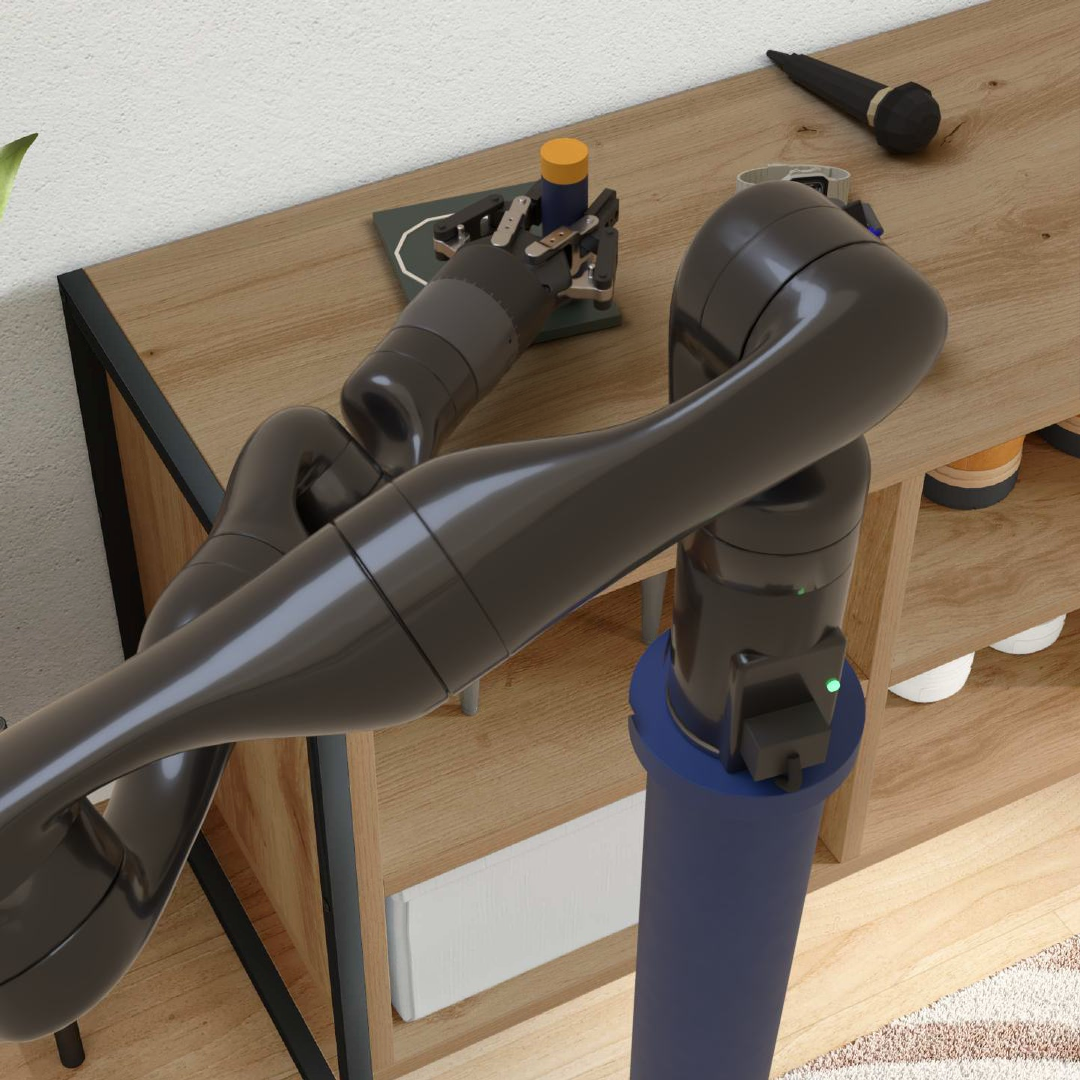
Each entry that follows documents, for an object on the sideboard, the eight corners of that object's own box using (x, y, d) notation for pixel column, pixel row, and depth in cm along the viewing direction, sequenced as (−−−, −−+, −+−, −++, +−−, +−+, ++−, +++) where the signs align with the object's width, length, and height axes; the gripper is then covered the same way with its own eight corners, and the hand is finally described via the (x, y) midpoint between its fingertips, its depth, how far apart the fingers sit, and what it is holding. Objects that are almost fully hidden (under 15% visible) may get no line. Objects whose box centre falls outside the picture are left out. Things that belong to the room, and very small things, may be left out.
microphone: (753, 97, 139) (910, 178, 126) (736, 43, 135) (897, 121, 122) (799, 61, 140) (960, 138, 127) (784, 7, 136) (949, 80, 122)
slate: (621, 325, 113) (621, 313, 112) (432, 365, 110) (431, 353, 109) (545, 189, 125) (545, 177, 124) (373, 222, 122) (371, 211, 121)
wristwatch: (746, 244, 119) (751, 188, 116) (720, 197, 124) (724, 142, 120) (860, 225, 121) (868, 169, 117) (830, 180, 125) (837, 125, 121)
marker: (593, 303, 113) (594, 159, 104) (550, 312, 112) (548, 167, 104) (580, 277, 115) (579, 134, 106) (538, 285, 115) (534, 142, 106)
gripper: (563, 315, 95) (679, 171, 106) (364, 253, 100) (494, 120, 110) (564, 408, 101) (674, 262, 111) (375, 345, 105) (497, 210, 116)
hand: (583, 192), depth 111 cm, fingers open, 3 cm apart
